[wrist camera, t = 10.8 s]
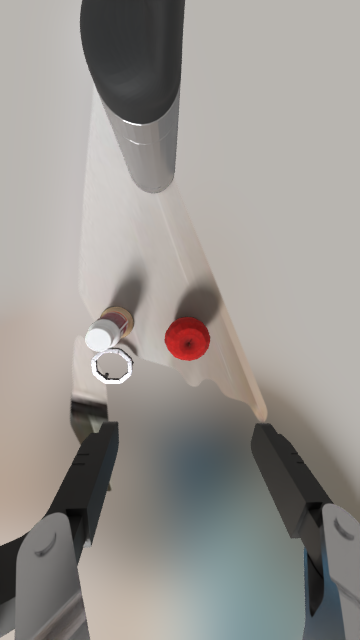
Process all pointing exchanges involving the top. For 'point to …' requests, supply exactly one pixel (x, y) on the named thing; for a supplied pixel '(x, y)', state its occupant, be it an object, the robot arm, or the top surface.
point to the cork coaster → (126, 313)
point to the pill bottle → (106, 331)
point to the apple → (187, 338)
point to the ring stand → (104, 377)
